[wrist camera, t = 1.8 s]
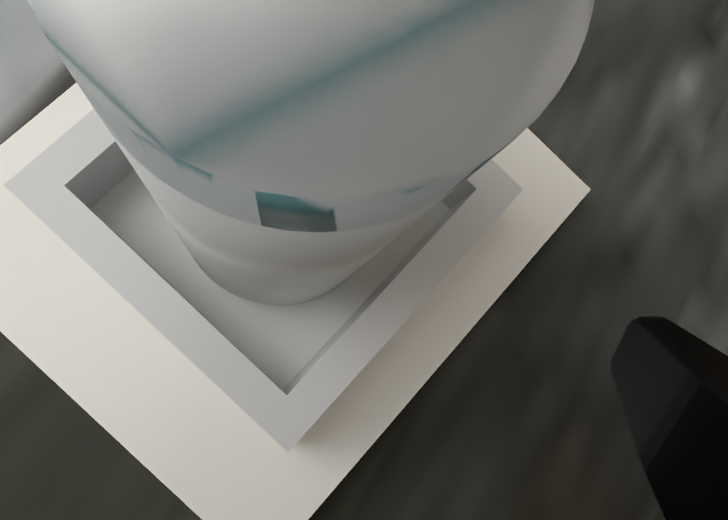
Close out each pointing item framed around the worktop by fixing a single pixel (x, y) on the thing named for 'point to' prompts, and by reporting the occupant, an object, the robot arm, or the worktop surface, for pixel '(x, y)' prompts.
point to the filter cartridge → (310, 116)
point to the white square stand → (244, 316)
